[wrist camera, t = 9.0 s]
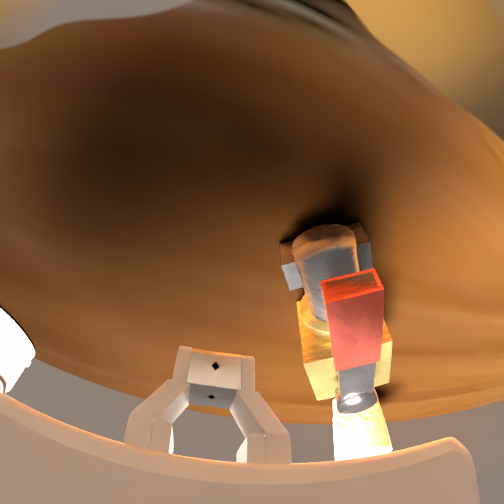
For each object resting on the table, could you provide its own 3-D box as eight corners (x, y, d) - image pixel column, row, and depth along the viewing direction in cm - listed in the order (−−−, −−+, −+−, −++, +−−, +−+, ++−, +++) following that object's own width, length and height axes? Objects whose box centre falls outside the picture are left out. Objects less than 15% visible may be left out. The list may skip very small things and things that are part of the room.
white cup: (385, 394, 36) (398, 450, 28) (341, 413, 39) (348, 467, 31) (368, 378, 33) (382, 444, 25) (318, 399, 36) (324, 461, 28)
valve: (372, 356, 31) (387, 413, 24) (319, 369, 32) (326, 428, 26) (358, 209, 21) (398, 276, 14) (273, 232, 22) (278, 308, 15)
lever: (372, 392, 20) (376, 408, 19) (335, 400, 21) (337, 416, 20) (378, 267, 13) (388, 288, 12) (316, 281, 14) (321, 304, 12)
